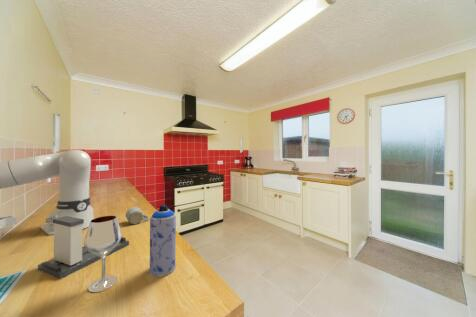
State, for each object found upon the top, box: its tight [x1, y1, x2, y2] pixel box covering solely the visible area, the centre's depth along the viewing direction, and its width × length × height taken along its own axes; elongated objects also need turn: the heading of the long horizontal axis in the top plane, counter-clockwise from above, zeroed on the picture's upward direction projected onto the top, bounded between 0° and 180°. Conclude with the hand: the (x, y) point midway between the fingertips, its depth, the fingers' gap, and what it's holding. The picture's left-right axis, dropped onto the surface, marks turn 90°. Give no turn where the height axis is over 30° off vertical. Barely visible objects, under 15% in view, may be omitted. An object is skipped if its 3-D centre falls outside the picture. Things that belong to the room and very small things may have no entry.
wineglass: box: [83, 215, 123, 293], centre depth 48 cm, size 8×8×18 cm
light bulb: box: [125, 206, 150, 225], centre depth 94 cm, size 11×8×8 cm
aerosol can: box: [148, 204, 177, 278], centre depth 54 cm, size 8×8×20 cm
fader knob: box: [53, 216, 84, 266], centre depth 55 cm, size 9×3×13 cm, turn 70°
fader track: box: [37, 236, 130, 280], centre depth 61 cm, size 12×21×2 cm, turn 160°
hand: (13, 219), depth 45 cm, fingers closed
